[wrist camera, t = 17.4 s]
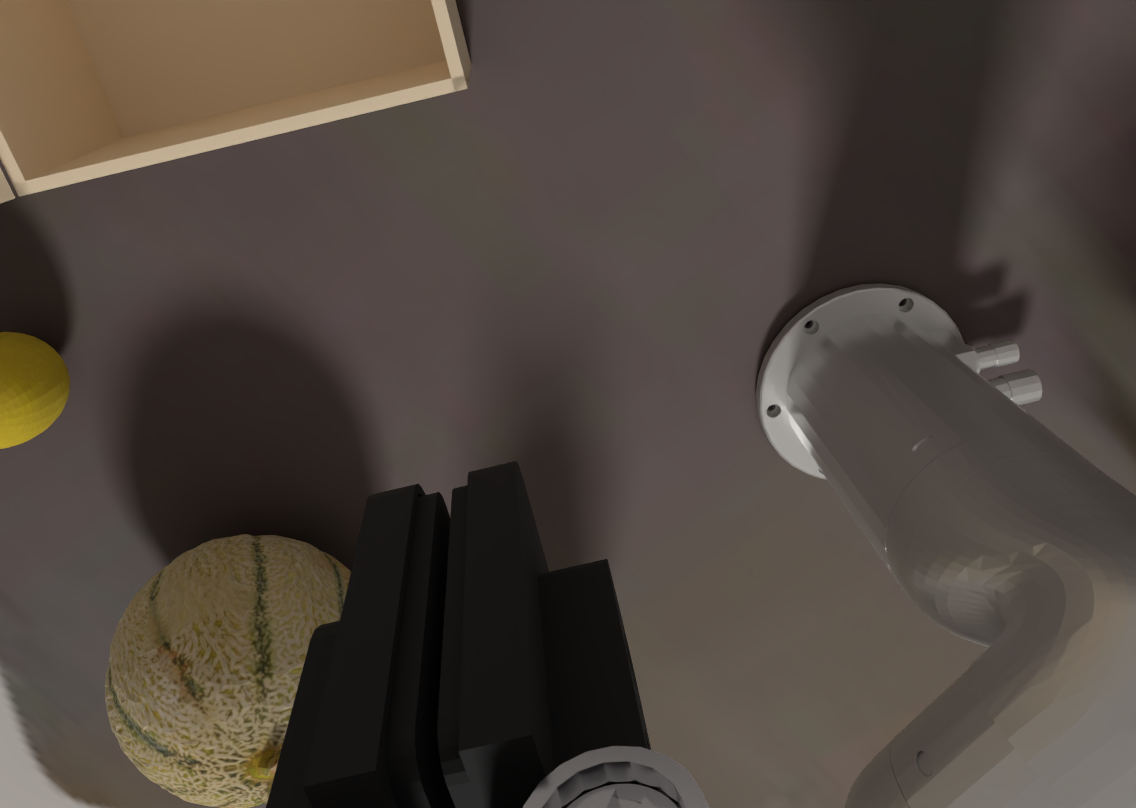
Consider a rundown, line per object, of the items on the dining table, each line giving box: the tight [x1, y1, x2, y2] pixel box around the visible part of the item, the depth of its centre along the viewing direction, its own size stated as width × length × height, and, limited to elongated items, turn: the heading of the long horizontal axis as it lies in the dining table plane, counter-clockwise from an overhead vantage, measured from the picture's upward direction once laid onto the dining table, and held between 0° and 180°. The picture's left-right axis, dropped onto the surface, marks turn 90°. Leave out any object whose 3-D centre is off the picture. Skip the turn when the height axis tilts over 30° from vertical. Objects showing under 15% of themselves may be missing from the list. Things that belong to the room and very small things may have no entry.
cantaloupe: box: [105, 534, 351, 808], centre depth 50 cm, size 15×15×15 cm
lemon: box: [0, 332, 70, 449], centre depth 45 cm, size 6×6×8 cm
